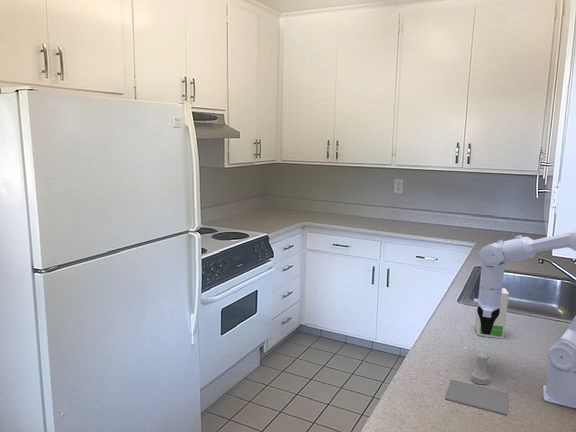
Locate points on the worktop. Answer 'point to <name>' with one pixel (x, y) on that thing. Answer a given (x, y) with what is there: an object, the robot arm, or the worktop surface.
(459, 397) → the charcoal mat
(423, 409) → the worktop surface
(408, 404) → the worktop surface
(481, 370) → the rook chess piece
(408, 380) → the worktop surface
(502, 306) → the skincare box
